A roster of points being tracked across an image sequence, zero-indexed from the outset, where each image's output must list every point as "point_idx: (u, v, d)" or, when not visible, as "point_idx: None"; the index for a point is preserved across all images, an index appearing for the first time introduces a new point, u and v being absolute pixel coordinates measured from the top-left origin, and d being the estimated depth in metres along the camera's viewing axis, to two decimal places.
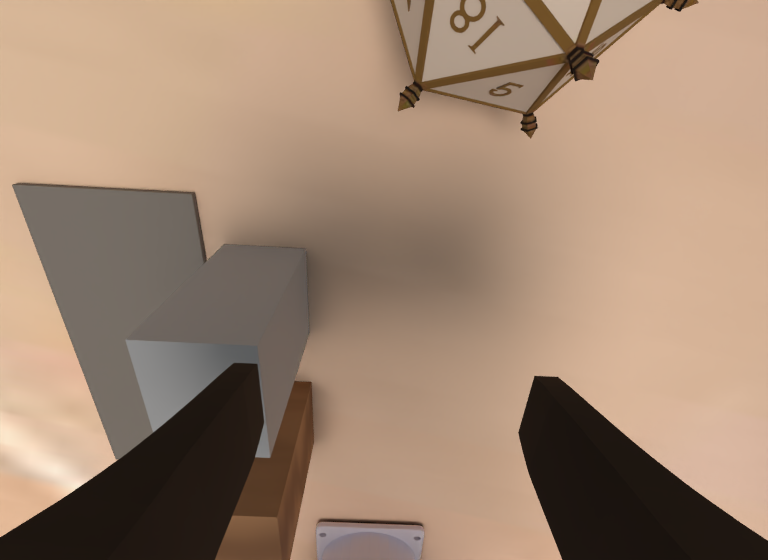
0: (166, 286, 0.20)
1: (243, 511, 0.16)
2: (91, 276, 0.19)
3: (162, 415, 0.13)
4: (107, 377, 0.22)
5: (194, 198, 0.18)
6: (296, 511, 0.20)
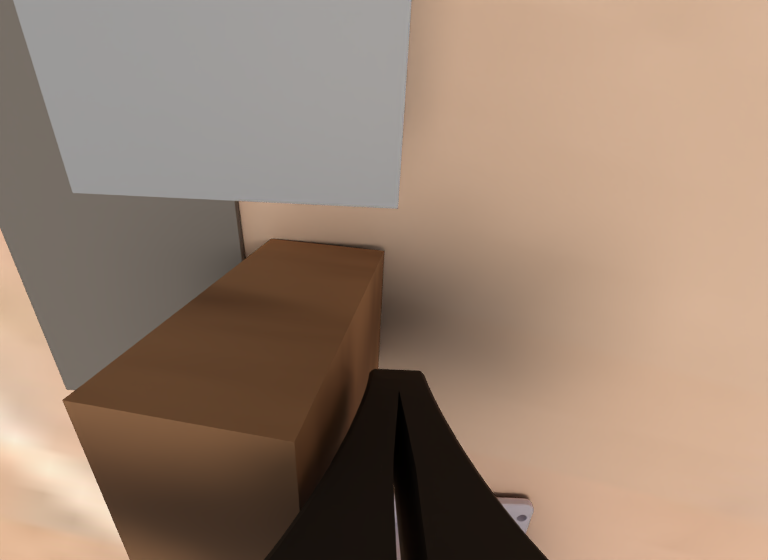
0: None
1: (212, 417, 0.06)
2: None
3: (63, 9, 0.04)
4: (40, 232, 0.13)
5: None
6: None
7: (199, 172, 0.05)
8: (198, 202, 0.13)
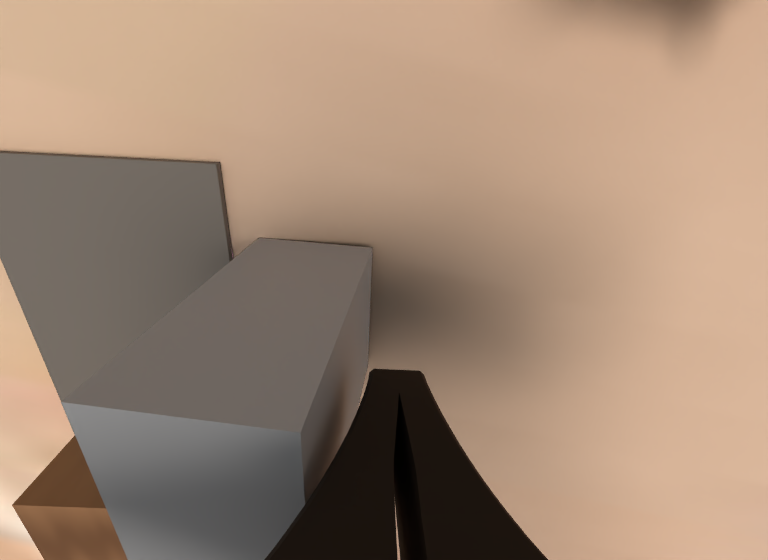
0: (177, 296, 0.14)
1: (50, 468, 0.14)
2: (73, 283, 0.14)
3: (134, 523, 0.08)
4: None
5: (219, 170, 0.12)
6: None
7: None
8: None
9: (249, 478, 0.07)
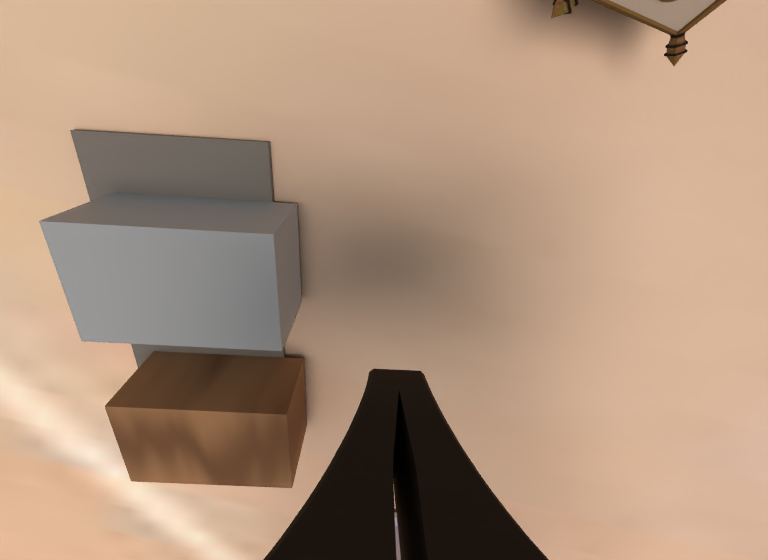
0: None
1: (128, 384, 0.18)
2: None
3: None
4: None
5: (269, 147, 0.16)
6: (184, 470, 0.19)
7: None
8: None
9: None
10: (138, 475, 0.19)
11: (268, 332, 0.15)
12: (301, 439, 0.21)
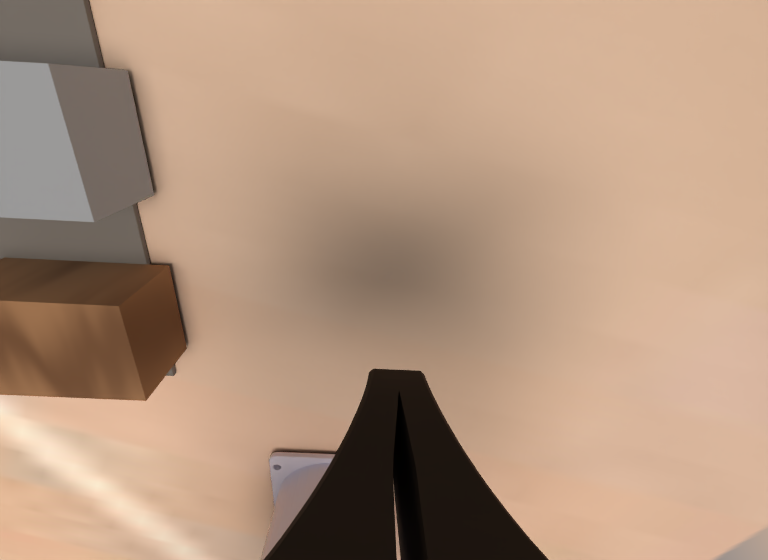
0: None
1: None
2: None
3: None
4: (8, 257, 0.19)
5: (86, 0, 0.14)
6: (23, 379, 0.17)
7: None
8: (116, 238, 0.18)
9: None
10: None
11: (73, 197, 0.13)
12: (171, 356, 0.20)
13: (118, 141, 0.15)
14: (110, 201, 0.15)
